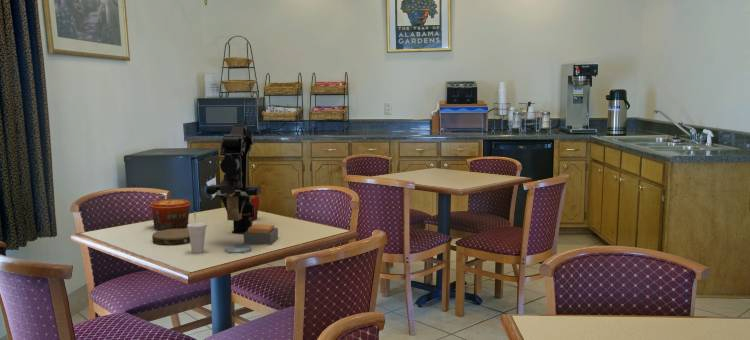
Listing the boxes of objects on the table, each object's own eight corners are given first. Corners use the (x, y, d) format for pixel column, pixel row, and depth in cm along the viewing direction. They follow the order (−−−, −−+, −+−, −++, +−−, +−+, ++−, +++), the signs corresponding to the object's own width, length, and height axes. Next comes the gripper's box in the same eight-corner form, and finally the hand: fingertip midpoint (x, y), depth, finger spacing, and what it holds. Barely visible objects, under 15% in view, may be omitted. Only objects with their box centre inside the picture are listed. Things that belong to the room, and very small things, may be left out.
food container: (194, 230, 234) (194, 203, 233) (152, 233, 227) (151, 206, 226) (188, 222, 248) (187, 197, 247) (148, 225, 241) (147, 200, 240)
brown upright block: (227, 220, 209) (226, 198, 208) (231, 217, 213) (230, 196, 212) (238, 220, 208) (237, 198, 207) (241, 218, 212) (241, 196, 211)
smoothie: (190, 249, 203) (189, 210, 202) (209, 249, 204) (207, 210, 202) (186, 254, 197) (184, 214, 195) (205, 254, 198) (204, 213, 196)
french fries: (246, 218, 258) (246, 184, 256) (263, 219, 255) (262, 185, 254) (235, 221, 250) (234, 187, 248) (252, 223, 247) (251, 188, 245)
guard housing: (243, 243, 212) (243, 233, 212) (252, 237, 222) (252, 227, 221) (270, 244, 211) (270, 234, 210) (278, 238, 221) (277, 228, 220)
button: (247, 232, 213) (247, 228, 212) (254, 228, 220) (254, 224, 220) (268, 233, 212) (268, 229, 212) (273, 228, 219) (273, 224, 219)
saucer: (221, 253, 199) (220, 250, 199) (230, 246, 208) (230, 244, 208) (246, 254, 198) (246, 251, 198) (254, 247, 207) (254, 245, 207)
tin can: (196, 235, 227) (196, 227, 227) (198, 244, 212) (198, 236, 212) (153, 237, 222) (153, 230, 221) (151, 247, 207) (151, 239, 206)
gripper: (199, 172, 201) (200, 217, 203) (251, 174, 199) (252, 218, 201) (211, 169, 212) (212, 211, 214) (261, 170, 210) (262, 212, 212)
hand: (234, 213), depth 210 cm, fingers closed on brown upright block, 4 cm apart
